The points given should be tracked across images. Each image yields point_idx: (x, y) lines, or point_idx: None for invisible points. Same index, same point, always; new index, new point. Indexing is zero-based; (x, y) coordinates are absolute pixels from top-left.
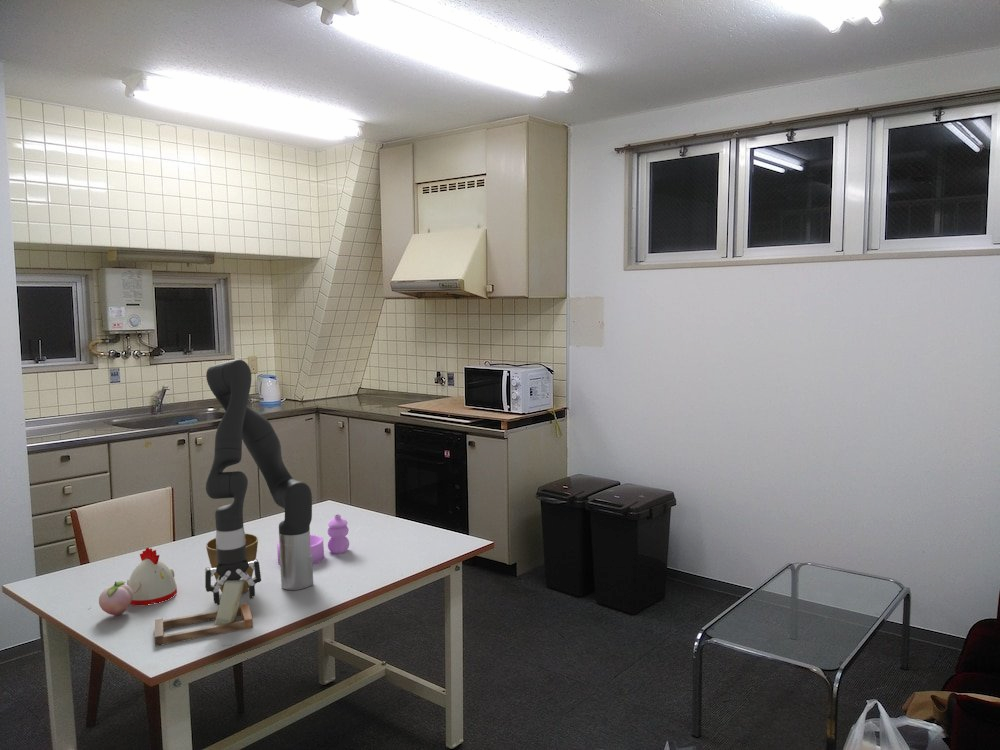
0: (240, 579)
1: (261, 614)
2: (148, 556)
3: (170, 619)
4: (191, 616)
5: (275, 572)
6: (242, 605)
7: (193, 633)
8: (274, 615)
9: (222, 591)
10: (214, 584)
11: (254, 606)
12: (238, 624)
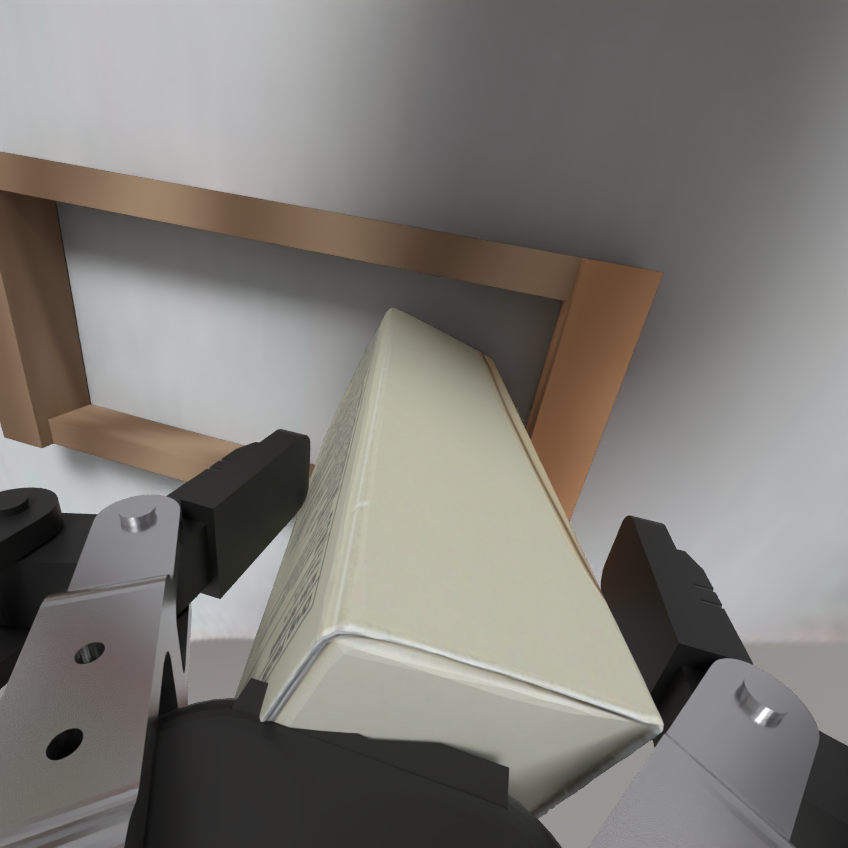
0: (526, 767)
1: (699, 396)
2: None
3: (36, 174)
4: (175, 219)
5: None
6: (593, 297)
7: None
8: (766, 480)
9: None
10: (84, 560)
11: (760, 163)
12: None
